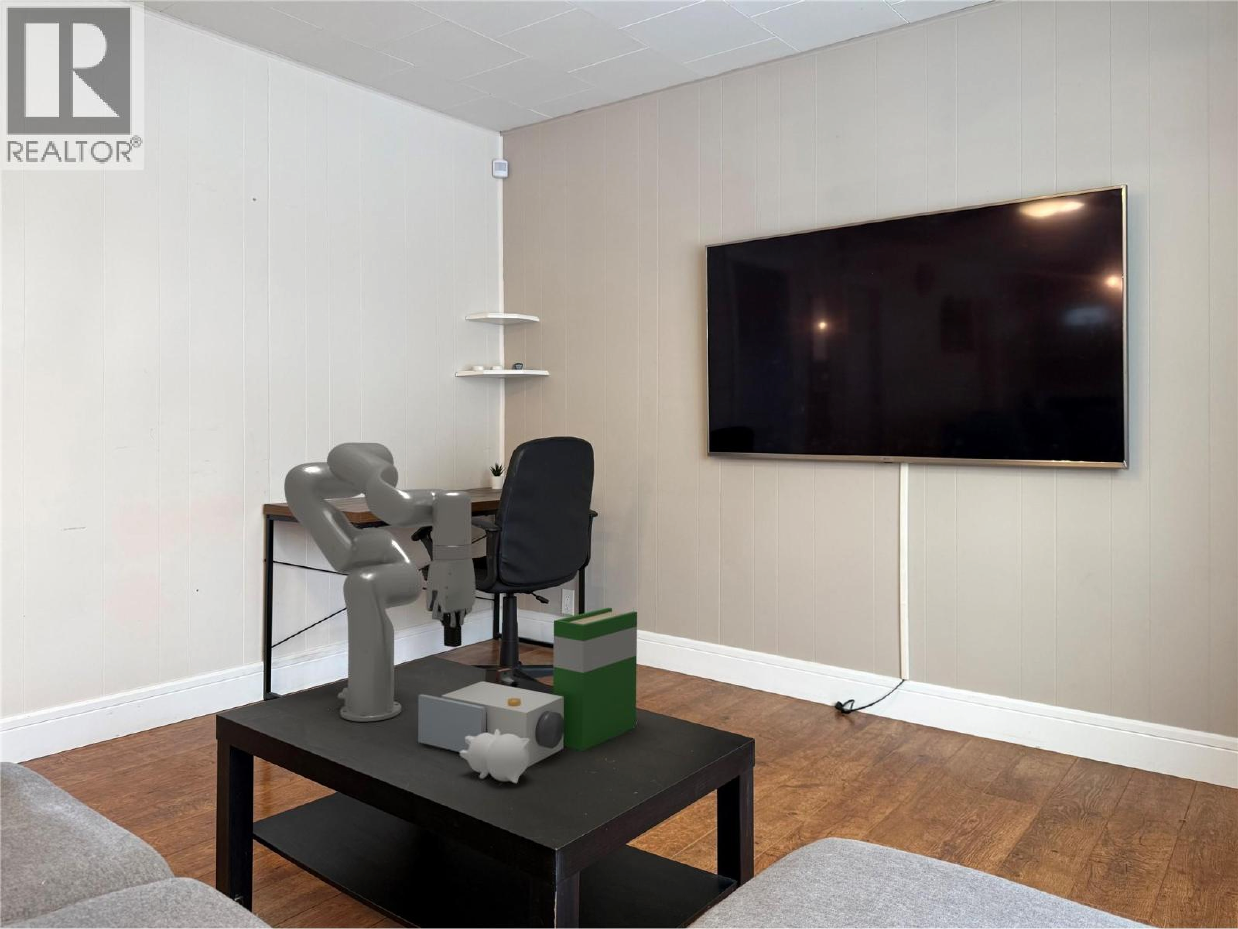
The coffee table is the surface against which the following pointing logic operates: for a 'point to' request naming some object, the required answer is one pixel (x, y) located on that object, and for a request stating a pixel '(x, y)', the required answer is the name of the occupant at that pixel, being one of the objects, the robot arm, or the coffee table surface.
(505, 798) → the coffee table surface
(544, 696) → the white rectangular box
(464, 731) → the side door
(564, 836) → the coffee table surface
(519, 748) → the cat figurine
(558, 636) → the hardback book
